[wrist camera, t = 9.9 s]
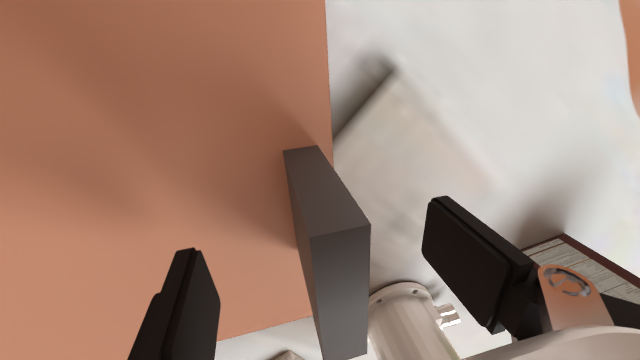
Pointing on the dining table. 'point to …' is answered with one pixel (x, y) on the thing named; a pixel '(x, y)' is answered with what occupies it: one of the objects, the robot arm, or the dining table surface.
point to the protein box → (587, 266)
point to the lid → (170, 172)
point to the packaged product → (289, 356)
